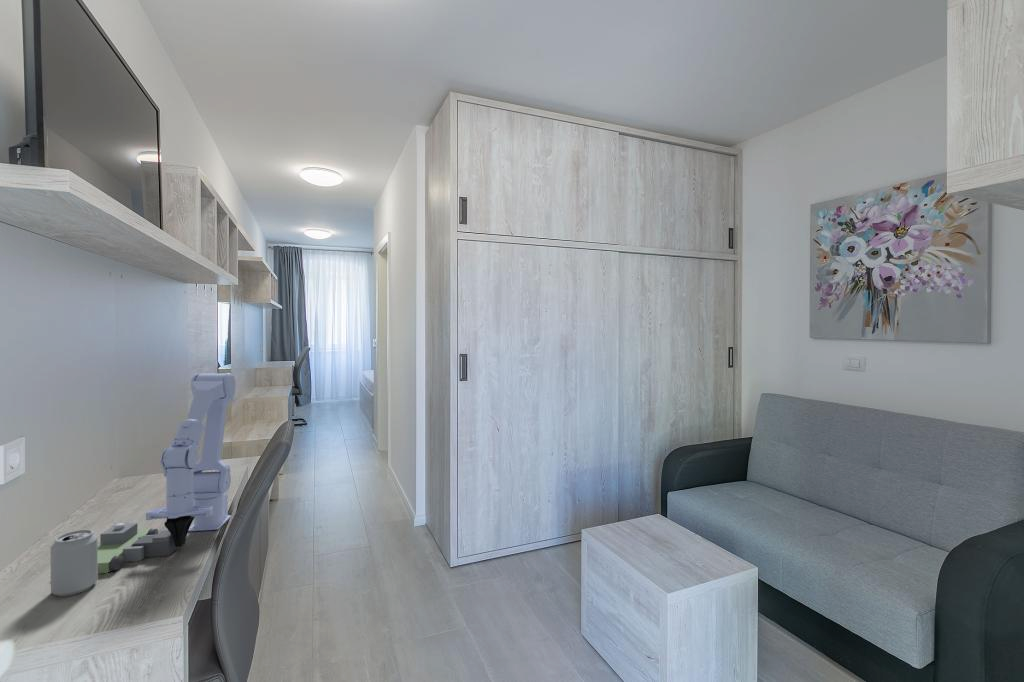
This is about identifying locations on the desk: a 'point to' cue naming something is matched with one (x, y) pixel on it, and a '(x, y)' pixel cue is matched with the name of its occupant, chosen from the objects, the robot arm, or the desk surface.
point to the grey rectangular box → (157, 544)
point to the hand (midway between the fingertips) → (180, 545)
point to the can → (74, 562)
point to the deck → (120, 546)
